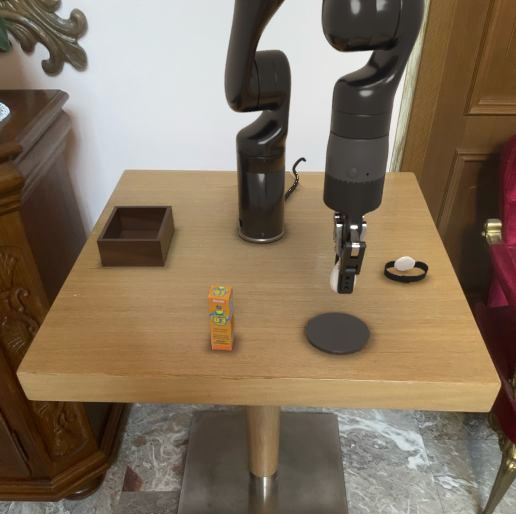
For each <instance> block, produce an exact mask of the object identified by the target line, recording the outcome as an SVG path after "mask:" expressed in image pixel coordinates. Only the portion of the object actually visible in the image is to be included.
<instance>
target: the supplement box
mask: <svg viewBox="0 0 516 514" xmlns="http://www.w3.org/2000/svg"><path fill="white" fill-rule="evenodd" d="M207 306H208V317H209V318H208V320H209V331H210V332H209V333H210V342H211V343H210V344H211V350H214V351H229V352H231V351H232V349H233V347H234V344H235V339H236V332H235V314H234V313H235V311H234V288H233V286H232V285H227V286H226V285H217V284H211V285H210V286H209V291H208V295H207Z"/></svg>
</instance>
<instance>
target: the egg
mask: <svg viewBox="0 0 516 514" xmlns="http://www.w3.org/2000/svg"><path fill="white" fill-rule="evenodd" d="M338 266H339V261H338V262H337V264H336V265H335V264H334V267H333V269H332V270H331V273H330V275H329V286H330V288H331V290H332V291H333V292H334V293H336V294H339V293H338V292H337V283H338V273H339V269H338ZM356 284H357V275H355V280H354V287H355V286H356Z"/></svg>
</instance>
